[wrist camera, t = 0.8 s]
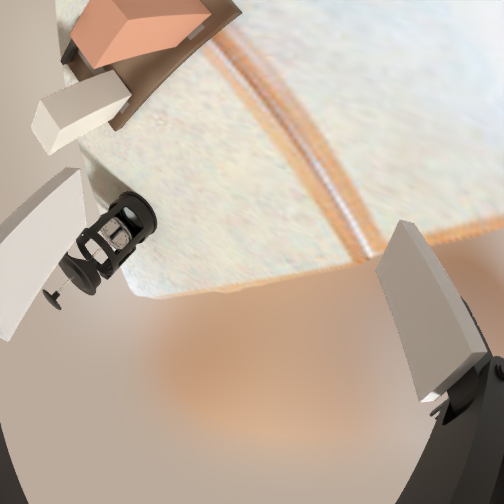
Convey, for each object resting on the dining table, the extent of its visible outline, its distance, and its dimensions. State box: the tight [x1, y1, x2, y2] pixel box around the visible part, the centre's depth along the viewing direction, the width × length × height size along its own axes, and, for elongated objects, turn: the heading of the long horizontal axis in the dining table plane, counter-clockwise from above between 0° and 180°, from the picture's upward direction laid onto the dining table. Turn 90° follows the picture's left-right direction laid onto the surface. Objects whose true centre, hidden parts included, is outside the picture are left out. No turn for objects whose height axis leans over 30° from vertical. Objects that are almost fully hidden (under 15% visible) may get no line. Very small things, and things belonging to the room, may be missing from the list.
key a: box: [31, 70, 132, 155], centre depth 31 cm, size 5×6×12 cm
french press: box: [43, 192, 157, 310], centre depth 45 cm, size 12×9×23 cm
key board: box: [61, 0, 242, 131], centre depth 28 cm, size 16×26×4 cm, turn 127°
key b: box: [70, 0, 211, 69], centre depth 20 cm, size 5×6×12 cm
